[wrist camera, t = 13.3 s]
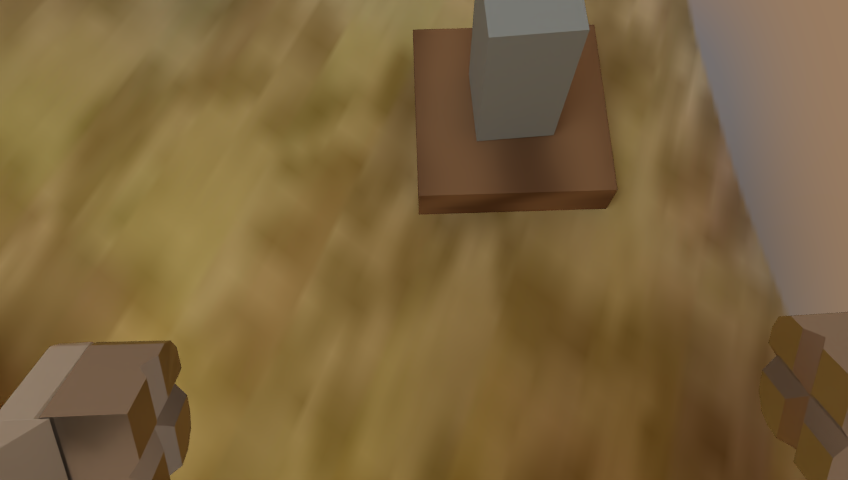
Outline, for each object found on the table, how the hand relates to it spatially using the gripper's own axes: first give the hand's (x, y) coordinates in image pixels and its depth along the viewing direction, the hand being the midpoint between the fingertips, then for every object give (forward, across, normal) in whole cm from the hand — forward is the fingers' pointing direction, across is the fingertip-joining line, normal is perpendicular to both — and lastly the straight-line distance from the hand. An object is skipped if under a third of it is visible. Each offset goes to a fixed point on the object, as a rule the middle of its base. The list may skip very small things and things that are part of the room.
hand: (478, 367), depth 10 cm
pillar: (+28, -5, +4) cm, 29 cm away
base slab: (+30, -5, +6) cm, 31 cm away
